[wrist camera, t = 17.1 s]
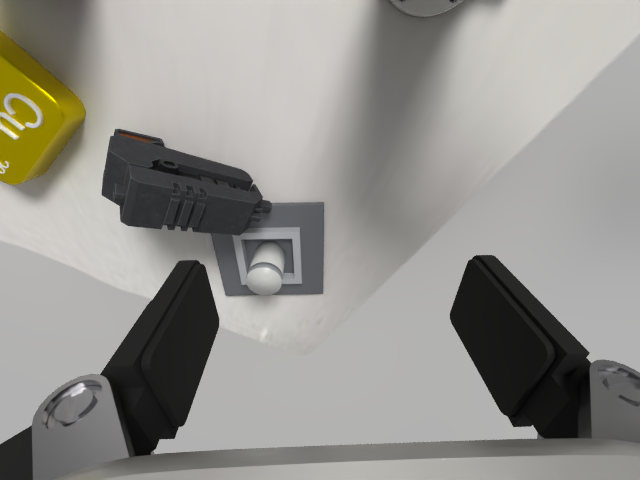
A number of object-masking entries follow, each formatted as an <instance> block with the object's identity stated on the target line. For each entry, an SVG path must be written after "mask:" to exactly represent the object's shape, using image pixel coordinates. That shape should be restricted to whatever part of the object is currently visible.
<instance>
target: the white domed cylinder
mask: <svg viewBox="0 0 640 480" xmlns="http://www.w3.org/2000/svg"><path fill="white" fill-rule="evenodd" d="M285 259H286V253H285V250H284V249H283V247H281V246H280V245H279V244H277V243H274V242H264V243H261V244H260V245H258V246H257V248H256V250H255V253H254V256H253V259H252V262H251V265H250V268H249V270H248V273H247V276H246V284H247V286H248V288H249V289H250V290H251V291H253V292H254V293H256V294H259V295H272V294H274V293H276V292H277V291H279V289H280V288H281V286H282V280H283V272H284V265H285Z"/></svg>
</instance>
